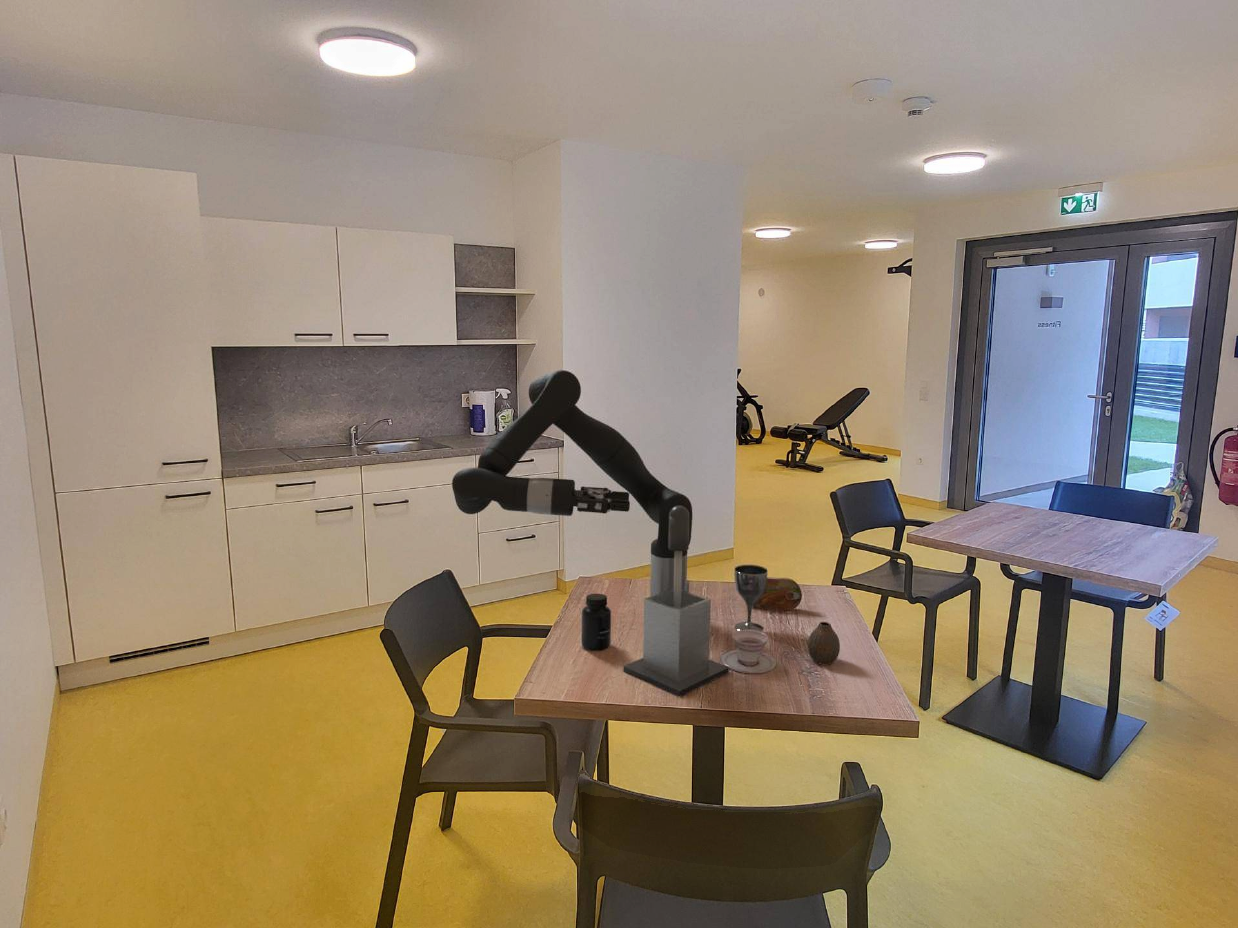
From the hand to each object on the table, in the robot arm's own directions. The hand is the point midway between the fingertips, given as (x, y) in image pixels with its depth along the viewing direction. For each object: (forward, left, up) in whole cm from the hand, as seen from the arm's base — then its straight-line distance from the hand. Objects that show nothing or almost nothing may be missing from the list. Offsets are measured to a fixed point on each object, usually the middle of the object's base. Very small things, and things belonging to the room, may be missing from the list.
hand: (629, 501), depth 156 cm
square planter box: (-7, +7, -37) cm, 39 cm away
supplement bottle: (-5, -15, -38) cm, 41 cm away
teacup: (-23, +15, -38) cm, 47 cm away
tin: (-55, -1, -38) cm, 67 cm away
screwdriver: (-7, +7, -26) cm, 28 cm away
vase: (-35, +26, -38) cm, 58 cm away
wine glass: (-40, +3, -38) cm, 55 cm away
